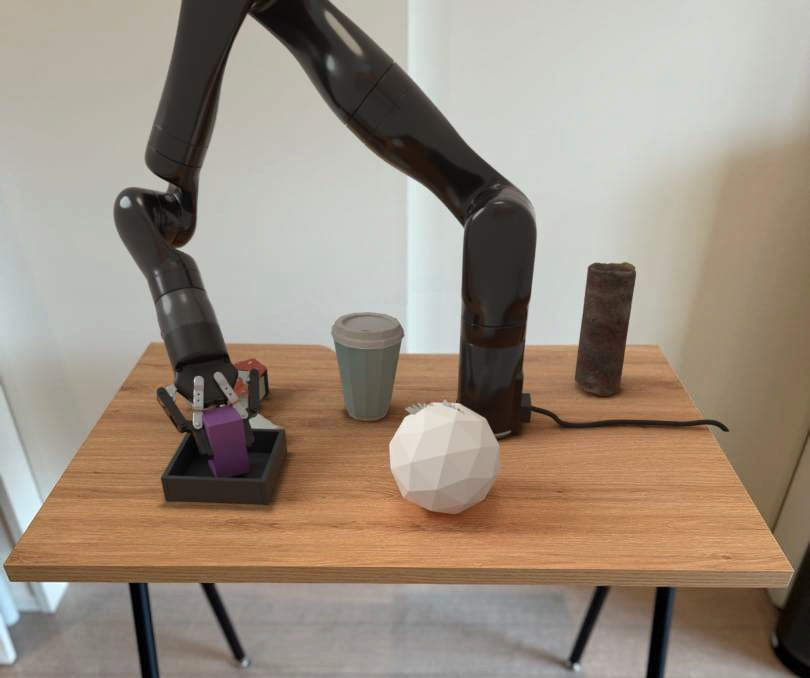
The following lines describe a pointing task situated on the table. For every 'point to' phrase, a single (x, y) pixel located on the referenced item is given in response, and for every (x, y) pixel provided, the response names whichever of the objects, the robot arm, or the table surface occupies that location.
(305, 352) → the table surface
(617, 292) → the candle
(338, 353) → the disposable coffee cup
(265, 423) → the tape dispenser
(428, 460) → the geodesic sphere
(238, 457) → the plum block
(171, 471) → the tray
